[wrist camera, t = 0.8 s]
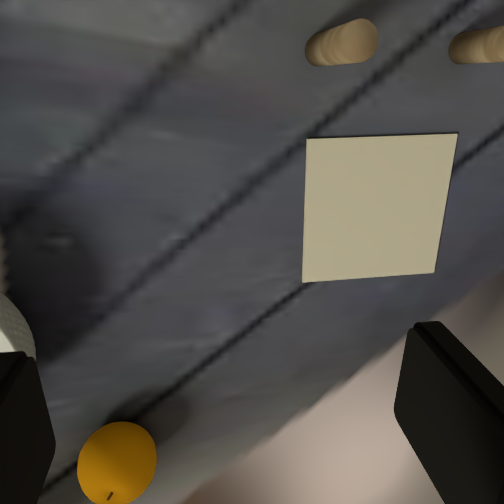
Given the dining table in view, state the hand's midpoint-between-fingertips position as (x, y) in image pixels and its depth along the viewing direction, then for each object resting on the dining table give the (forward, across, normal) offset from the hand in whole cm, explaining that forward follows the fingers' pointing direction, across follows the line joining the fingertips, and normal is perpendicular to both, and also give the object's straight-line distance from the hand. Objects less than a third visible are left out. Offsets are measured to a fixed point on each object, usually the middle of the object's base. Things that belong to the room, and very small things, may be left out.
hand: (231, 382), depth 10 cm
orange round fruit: (+28, +10, +31) cm, 43 cm away
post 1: (+28, -10, -9) cm, 31 cm away
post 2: (+28, -22, -9) cm, 37 cm away
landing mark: (+28, -16, +5) cm, 33 cm away
